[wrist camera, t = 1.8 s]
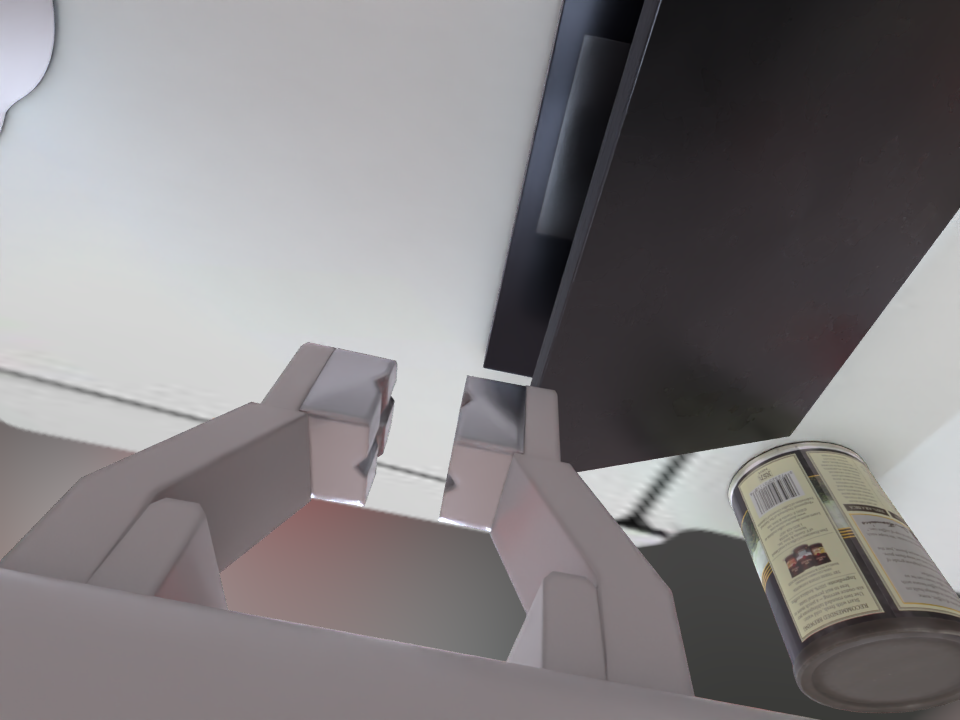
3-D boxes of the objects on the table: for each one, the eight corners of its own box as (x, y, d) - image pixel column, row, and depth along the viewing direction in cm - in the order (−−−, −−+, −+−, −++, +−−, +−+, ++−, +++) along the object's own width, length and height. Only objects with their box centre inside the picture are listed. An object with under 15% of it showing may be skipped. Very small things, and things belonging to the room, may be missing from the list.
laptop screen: (502, 471, 28) (509, 484, 27) (798, -536, 10) (837, -569, 9) (780, 427, 35) (790, 436, 34) (1224, -192, 18) (1262, -197, 17)
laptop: (485, 353, 36) (482, 369, 35) (627, -300, 19) (635, -327, 17) (770, 410, 37) (780, 428, 35) (1172, -177, 19) (1228, -193, 18)
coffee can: (819, 537, 44) (917, 727, 32) (705, 512, 43) (763, 695, 32) (901, 457, 38) (1056, 655, 26) (769, 427, 37) (869, 615, 26)
